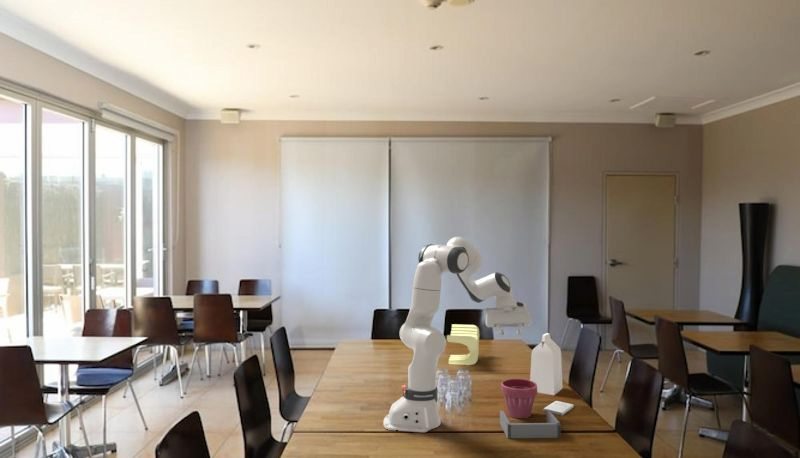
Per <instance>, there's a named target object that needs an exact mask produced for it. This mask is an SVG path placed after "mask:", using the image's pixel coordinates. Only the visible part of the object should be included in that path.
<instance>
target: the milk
mask: <svg viewBox="0 0 800 458" xmlns="http://www.w3.org/2000/svg"><path fill="white" fill-rule="evenodd" d="M562 369H563V368H562V350H561V348H560V347H559V346H558V344H556V342H555V341H554V340H553V339H552V338H551V334H550V332H549V333H548V332H546V333H544V334H542V336H541V342H539V343H538V344H537V345H536V346H535V347H534V348H533V349H532V350H531V358H530V373H529V375H530V377H529V380H530V381H533V382H535V383H536V384H537V394H544V395H550V396H555V395H556V394H558V393H559V392H560V391H561V390H563V370H562Z"/></svg>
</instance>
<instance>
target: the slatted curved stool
mask: <svg viewBox="0 0 800 458" xmlns="http://www.w3.org/2000/svg"><path fill="white" fill-rule="evenodd" d="M450 329H451V331H450V334H447V335H446V342H448V343H457V344H461V345H464V346H466V347H467V349H468V351H469V353H466V354H450V356H449V357H448V365H463V366H465V365H467V366H472V365H475V364H476V363H477V362H478V360H479V359H478V358H479V353H480V352H479V349H480V347H479V346H480V344H479V342H480V328H479V327H478V326H477V325H475V324H457V323H455V324H452V323H451V328H450Z"/></svg>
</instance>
